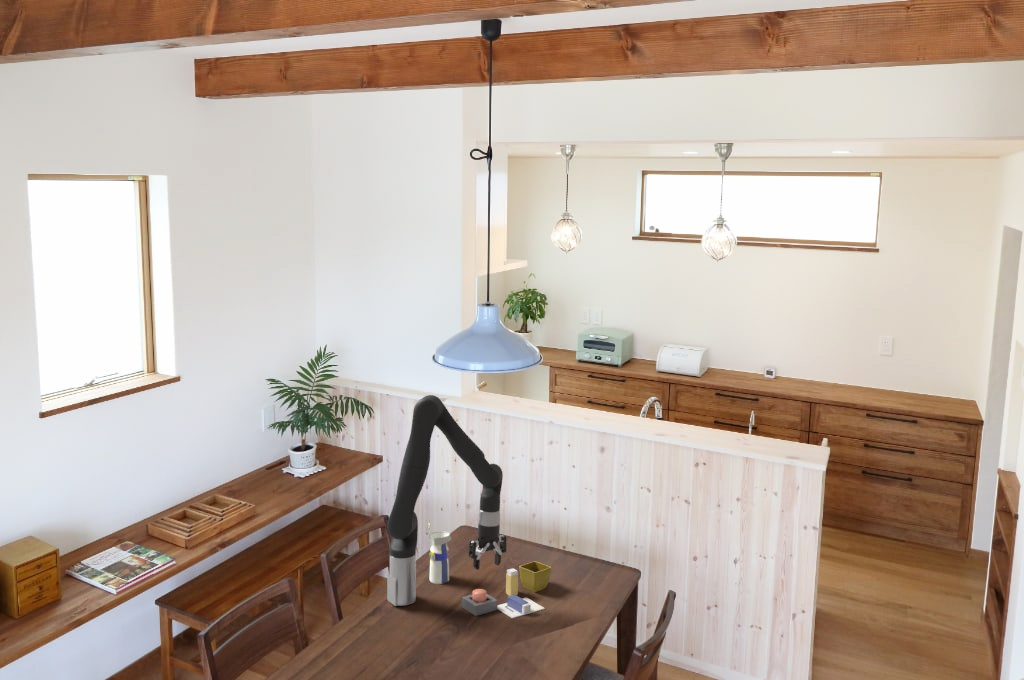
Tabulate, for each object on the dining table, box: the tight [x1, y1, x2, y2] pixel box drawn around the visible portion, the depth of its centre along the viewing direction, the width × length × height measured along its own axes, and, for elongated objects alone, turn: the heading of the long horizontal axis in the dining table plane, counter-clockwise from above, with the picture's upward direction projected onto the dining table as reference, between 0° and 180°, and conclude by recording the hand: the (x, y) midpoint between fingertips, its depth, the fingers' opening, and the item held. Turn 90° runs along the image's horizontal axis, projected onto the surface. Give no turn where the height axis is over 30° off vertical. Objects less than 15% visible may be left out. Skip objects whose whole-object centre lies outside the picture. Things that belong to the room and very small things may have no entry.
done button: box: [471, 588, 488, 603], centre depth 296 cm, size 5×5×4 cm
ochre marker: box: [505, 567, 519, 596], centre depth 308 cm, size 3×3×10 cm
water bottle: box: [427, 519, 452, 585], centre depth 316 cm, size 8×9×25 cm
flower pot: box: [518, 560, 552, 593], centre depth 313 cm, size 9×9×9 cm
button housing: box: [461, 593, 498, 617], centre depth 296 cm, size 9×9×4 cm
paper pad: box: [497, 597, 546, 619], centre depth 297 cm, size 14×11×1 cm
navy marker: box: [506, 594, 531, 615], centre depth 296 cm, size 3×3×10 cm
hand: (487, 566), depth 295 cm, fingers open, 8 cm apart
